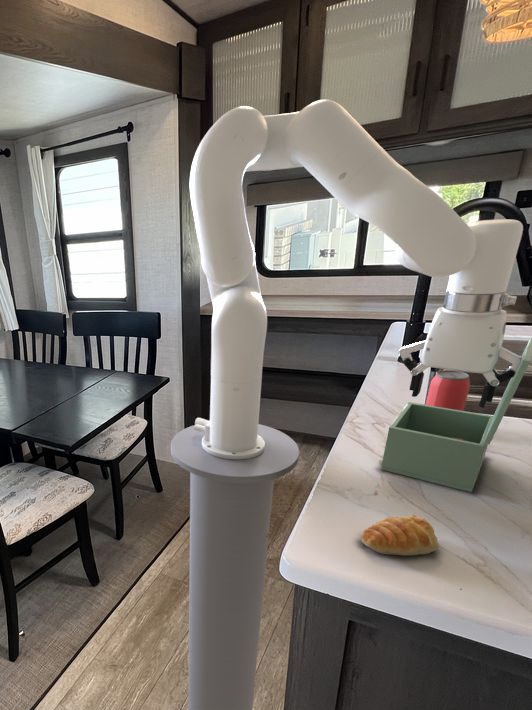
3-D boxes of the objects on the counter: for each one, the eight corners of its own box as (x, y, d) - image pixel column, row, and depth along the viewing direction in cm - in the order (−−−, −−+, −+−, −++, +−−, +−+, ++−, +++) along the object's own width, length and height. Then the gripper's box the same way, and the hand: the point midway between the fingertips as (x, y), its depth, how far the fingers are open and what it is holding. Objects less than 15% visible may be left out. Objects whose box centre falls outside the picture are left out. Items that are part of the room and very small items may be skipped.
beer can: (420, 429, 101) (432, 377, 96) (421, 418, 106) (433, 367, 101) (459, 435, 97) (473, 380, 93) (458, 423, 102) (471, 371, 97)
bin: (380, 469, 88) (389, 427, 85) (400, 440, 97) (408, 401, 94) (471, 492, 79) (485, 446, 76) (483, 458, 88) (496, 416, 85)
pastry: (380, 564, 66) (385, 542, 64) (349, 535, 72) (352, 514, 71) (441, 553, 67) (447, 531, 65) (405, 526, 73) (410, 505, 71)
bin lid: (523, 359, 69) (576, 370, 65) (530, 337, 78) (578, 345, 75) (483, 443, 76) (529, 456, 72) (494, 413, 85) (536, 423, 81)
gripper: (546, 300, 73) (514, 402, 80) (415, 295, 84) (396, 385, 91) (543, 310, 68) (509, 417, 75) (404, 303, 79) (386, 397, 86)
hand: (447, 399), depth 83 cm, fingers open, 9 cm apart
